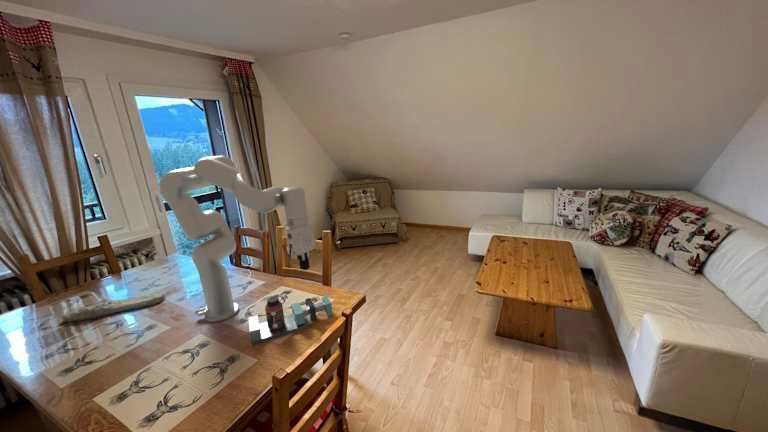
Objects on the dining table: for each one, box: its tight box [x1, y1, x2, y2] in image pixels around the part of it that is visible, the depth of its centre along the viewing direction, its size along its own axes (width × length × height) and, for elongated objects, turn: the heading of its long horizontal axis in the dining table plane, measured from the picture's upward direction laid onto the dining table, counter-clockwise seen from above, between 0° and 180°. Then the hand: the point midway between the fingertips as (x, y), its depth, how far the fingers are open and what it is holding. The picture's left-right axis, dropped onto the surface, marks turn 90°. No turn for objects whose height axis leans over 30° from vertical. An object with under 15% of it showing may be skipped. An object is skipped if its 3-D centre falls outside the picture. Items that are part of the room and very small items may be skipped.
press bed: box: [248, 297, 318, 347], centre depth 112 cm, size 23×10×7 cm, turn 116°
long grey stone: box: [61, 293, 166, 323], centre depth 129 cm, size 35×5×10 cm
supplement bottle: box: [264, 295, 285, 330], centre depth 110 cm, size 6×6×11 cm
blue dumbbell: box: [291, 295, 333, 325], centre depth 116 cm, size 14×8×5 cm, turn 116°
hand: (305, 268), depth 110 cm, fingers closed
